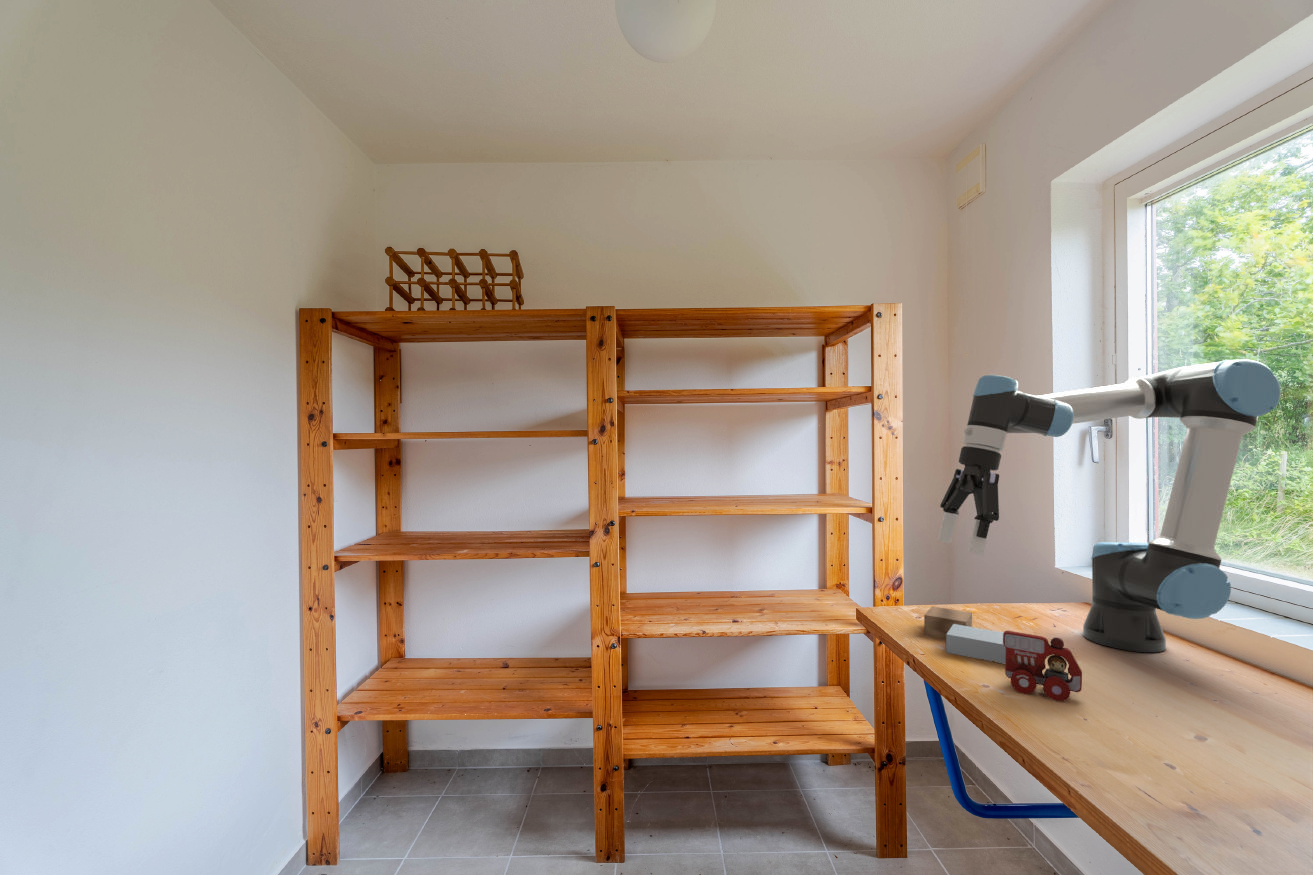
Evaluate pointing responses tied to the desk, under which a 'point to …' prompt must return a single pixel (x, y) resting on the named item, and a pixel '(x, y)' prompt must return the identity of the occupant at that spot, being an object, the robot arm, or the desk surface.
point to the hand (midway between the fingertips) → (958, 547)
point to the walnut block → (944, 621)
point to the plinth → (976, 643)
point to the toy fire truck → (1040, 665)
